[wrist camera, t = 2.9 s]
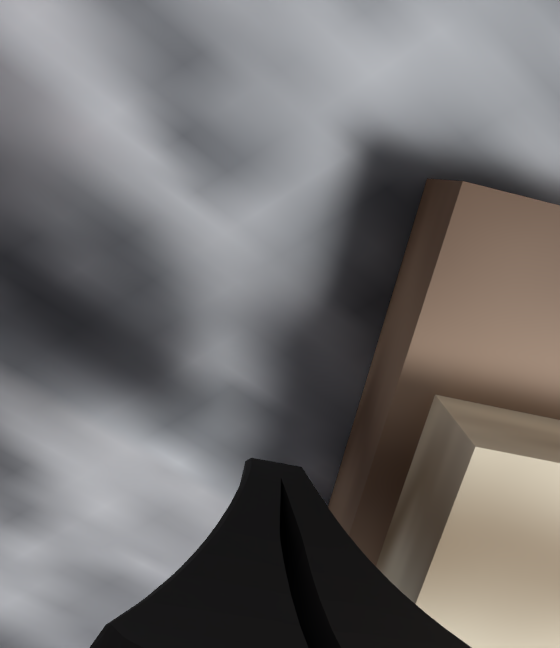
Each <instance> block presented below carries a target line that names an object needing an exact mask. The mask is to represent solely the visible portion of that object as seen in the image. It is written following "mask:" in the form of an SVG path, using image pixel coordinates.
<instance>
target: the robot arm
mask: <svg viewBox="0 0 560 648" xmlns="http://www.w3.org/2000/svg"><path fill="white" fill-rule="evenodd" d="M90 648H472V647H470V646H469V645H467V644H466V643H465V642H463V641H462V640H461V639H459V638H458V637H456V636H455V635H454V634H452V633H451V632H450V631H448V630H447V629H445V628H444V627H443V626H442V625H440V624H439V623H438V622H436V621H435V620H434V619H433V618H431V617H430V616H429V615H428V614H426V613H425V612H424V611H423V610H422V609H421V608H419V607H418V606H417V605H416V604H415V603H414V602H412V601H411V600H410V599H409V598H408V597H407V596H406V595H404V594H403V593H402V592H401V591H400V590H399V589H398V588H397V587H396V586H395V585H394V584H392V583H391V582H390V581H389V580H388V579H387V577H386V576H385V575H384V574H383V573H382V572H381V571H380V570H379V569H378V568H377V567H376V566H375V565H374V564H373V563H372V562H371V561H370V560H369V559H368V558H367V557H366V555H365V554H364V553H363V552H362V551H361V550H360V548H359V547H358V546H357V545H356V544H355V542H354V541H353V540H352V539H351V538H350V536H349V535H348V534H347V533H346V531H345V530H344V529H343V527H342V526H341V525H340V523H339V522H338V521H337V519H336V518H335V517H334V515H333V514H332V512H331V511H330V510H329V508H328V507H327V505H326V504H325V502H324V501H323V499H322V498H321V496H320V495H319V493H318V492H317V490H316V489H315V487H314V486H313V484H312V483H311V481H310V479H309V478H308V476H307V475H306V473H305V472H304V470H303V469H302V467H298V466H293V465H287V464H282V463H276V462H271V461H265V460H260V459H254V458H250V459H249V460H247V461H245V466H244V470H243V474H242V478H241V482H240V486H239V488H238V490H237V492H236V494H235V496H234V498H233V500H232V502H231V504H230V505H229V507H228V509H227V510H226V512H225V513H224V515H223V516H222V518H221V519H220V521H219V522H218V524H217V525H216V527H215V528H214V529H213V531H212V532H211V533H210V535H209V536H208V537H207V539H206V540H205V541H204V542H203V543H202V545H201V546H200V547H199V548H198V549H197V551H196V552H195V553H194V554H193V555H192V556H191V557H190V558H189V559H188V560H187V561H186V562H185V563H184V564H183V565H182V566H181V567H180V568H179V569H178V570H177V571H176V572H175V573H174V574H173V575H172V576H171V577H170V578H169V579H168V580H166V581H165V582H164V583H163V584H162V585H160V586H159V587H158V588H157V589H156V590H154V591H153V592H152V593H151V594H150V595H148V596H147V597H146V598H145V599H143V600H142V601H141V602H139V603H138V604H136V605H135V606H133V607H132V608H130V609H129V610H128V611H126V612H125V613H123V614H122V615H120V616H119V617H117V618H116V619H114V620H113V621H111V622H110V623H108V624H106V625H105V627H104V628H103V630H102V631H101V632H100V634H99V635H98V637H97V638H96V639H95V641H94V642H93V644H92V645H91V647H90Z"/></svg>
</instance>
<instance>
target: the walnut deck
mask: <svg viewBox="0 0 560 648" xmlns="http://www.w3.org/2000/svg"><path fill="white" fill-rule="evenodd" d="M435 395H440V396H444V397H449V398H454V399H459V400H464V401H469V402H474V403H479V404H484V405H488V406H493V407H498V408H503V409H508V410H513V411H518V412H523V413H527V414H532V415H537V416H542V417H547V418H552V419H557V420H560V205H556V204H552V203H548V202H544V201H540V200H536V199H532V198H528V197H524V196H520V195H516V194H512V193H508V192H504V191H500V190H496V189H493V188H489V187H485V186H481V185H477V184H473V183H469V182H465V181H455V180H442V179H428V178H427V181H426V185H425V188H424V191H423V194H422V198H421V201H420V204H419V208H418V211H417V214H416V218H415V221H414V224H413V228H412V231H411V234H410V237H409V241H408V244H407V247H406V251H405V254H404V257H403V261H402V264H401V267H400V271H399V274H398V277H397V280H396V284H395V287H394V290H393V294H392V297H391V300H390V304H389V307H388V310H387V313H386V317H385V320H384V323H383V327H382V330H381V333H380V337H379V340H378V343H377V347H376V350H375V353H374V356H373V360H372V363H371V366H370V370H369V373H368V376H367V380H366V383H365V386H364V390H363V393H362V396H361V399H360V403H359V406H358V409H357V413H356V416H355V419H354V423H353V426H352V429H351V432H350V436H349V439H348V442H347V446H346V449H345V452H344V456H343V459H342V462H341V466H340V469H339V472H338V475H337V479H336V482H335V485H334V489H333V492H332V495H331V499H330V502H329V505H328V508H329V510H330V511H331V512H332V514H333V515H334V517H335V518H336V519H337V521H338V522H339V523H340V525H341V526H342V527H343V529H344V530H345V531H346V533H347V534H348V535H349V536H350V538H351V539H352V540H353V541H354V542H355V544H356V545H357V546H358V547H359V548H360V550H361V551H362V552H363V553H364V554H365V555H366V557H367V558H368V559H369V560H370V561H371V562H372V563H373V564H374V565H375V566H376V564H377V561H378V558H379V556H380V553H381V550H382V547H383V544H384V541H385V538H386V535H387V532H388V530H389V527H390V524H391V521H392V518H393V515H394V512H395V509H396V506H397V503H398V501H399V498H400V495H401V492H402V489H403V486H404V483H405V480H406V477H407V475H408V472H409V469H410V466H411V463H412V460H413V457H414V454H415V451H416V448H417V446H418V443H419V440H420V437H421V434H422V431H423V428H424V425H425V422H426V420H427V417H428V414H429V411H430V408H431V405H432V402H433V399H434V396H435Z"/></svg>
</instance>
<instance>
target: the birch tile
mask: <svg viewBox="0 0 560 648" xmlns="http://www.w3.org/2000/svg"><path fill="white" fill-rule="evenodd" d="M376 567H377V568H378V569H379V570H380V571H381V572H382V573H383V574H384V575H385V576H386V577H387V579H388V580H389V581H390V582H391V583H392V584H394V585H395V586H396V587H397V588H398V589H399V590H400V591H401V592H402V593H403V594H404V595H406V596H407V597H408V598H409V599H410V600H411V601H412V602H414V603H415V604H416V605H417V606H418V607H419V608H421V609H422V610H423V611H424V612H425V613H426V614H428V615H429V616H430V617H431V618H433V619H434V620H435V621H436V622H438V623H439V624H440V625H442V626H443V627H444V628H445V629H447V630H448V631H450V632H451V633H452V634H454V635H455V636H456V637H458V638H459V639H461V640H462V641H463V642H465V643H466V644H467V645H469V646H470V647H472V648H560V420H557V419H552V418H547V417H542V416H537V415H532V414H527V413H523V412H518V411H513V410H508V409H503V408H498V407H493V406H488V405H484V404H479V403H474V402H469V401H464V400H459V399H454V398H449V397H444V396H440V395H435V396H434V399H433V402H432V405H431V408H430V411H429V414H428V417H427V420H426V422H425V425H424V428H423V431H422V434H421V437H420V440H419V443H418V446H417V448H416V451H415V454H414V457H413V460H412V463H411V466H410V469H409V472H408V475H407V477H406V480H405V483H404V486H403V489H402V492H401V495H400V498H399V501H398V503H397V506H396V509H395V512H394V515H393V518H392V521H391V524H390V527H389V530H388V532H387V535H386V538H385V541H384V544H383V547H382V550H381V553H380V556H379V558H378V561H377V564H376Z"/></svg>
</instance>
